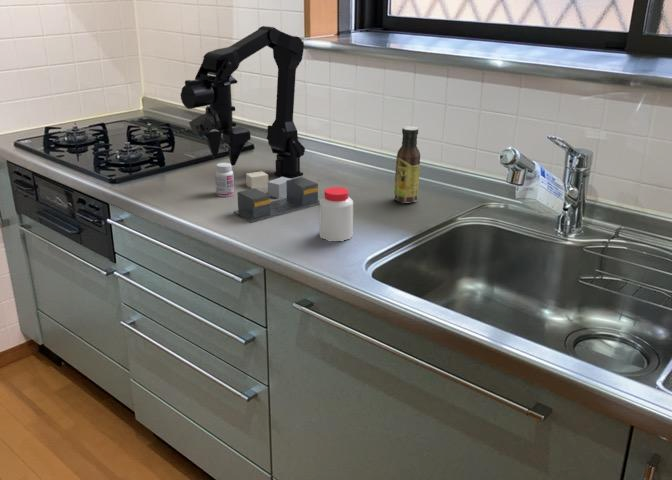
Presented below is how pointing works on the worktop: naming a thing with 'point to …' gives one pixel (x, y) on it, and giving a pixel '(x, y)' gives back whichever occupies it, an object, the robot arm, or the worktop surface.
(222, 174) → the pill bottle
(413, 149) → the sauce bottle
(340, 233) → the pill bottle
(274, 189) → the grey block
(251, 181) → the cream rectangular block
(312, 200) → the dark grey block rack
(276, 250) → the worktop surface
